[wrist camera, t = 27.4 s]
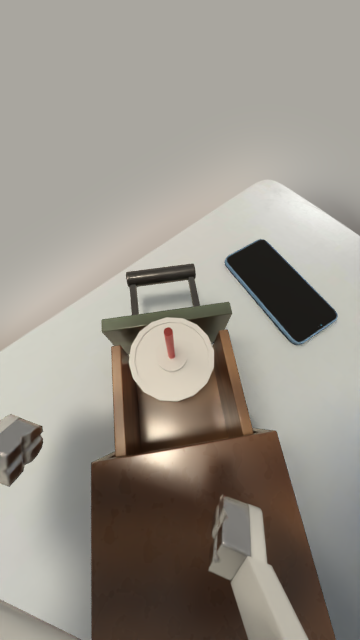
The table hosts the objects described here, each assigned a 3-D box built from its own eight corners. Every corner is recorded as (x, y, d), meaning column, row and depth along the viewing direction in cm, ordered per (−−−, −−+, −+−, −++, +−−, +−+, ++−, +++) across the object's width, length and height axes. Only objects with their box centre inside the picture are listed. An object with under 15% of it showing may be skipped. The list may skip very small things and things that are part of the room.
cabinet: (123, 447, 24) (90, 462, 15) (242, 426, 25) (276, 430, 16) (134, 654, 18) (91, 870, 10) (288, 621, 19) (380, 792, 10)
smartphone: (263, 236, 34) (342, 315, 29) (261, 240, 35) (338, 318, 30) (221, 258, 32) (298, 346, 27) (220, 262, 33) (295, 348, 28)
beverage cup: (143, 353, 26) (107, 287, 13) (198, 346, 26) (215, 275, 13) (148, 412, 24) (109, 402, 11) (208, 403, 24) (240, 383, 11)
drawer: (119, 302, 30) (99, 264, 23) (207, 290, 30) (215, 250, 23) (129, 480, 22) (104, 509, 15) (246, 460, 23) (276, 478, 16)
